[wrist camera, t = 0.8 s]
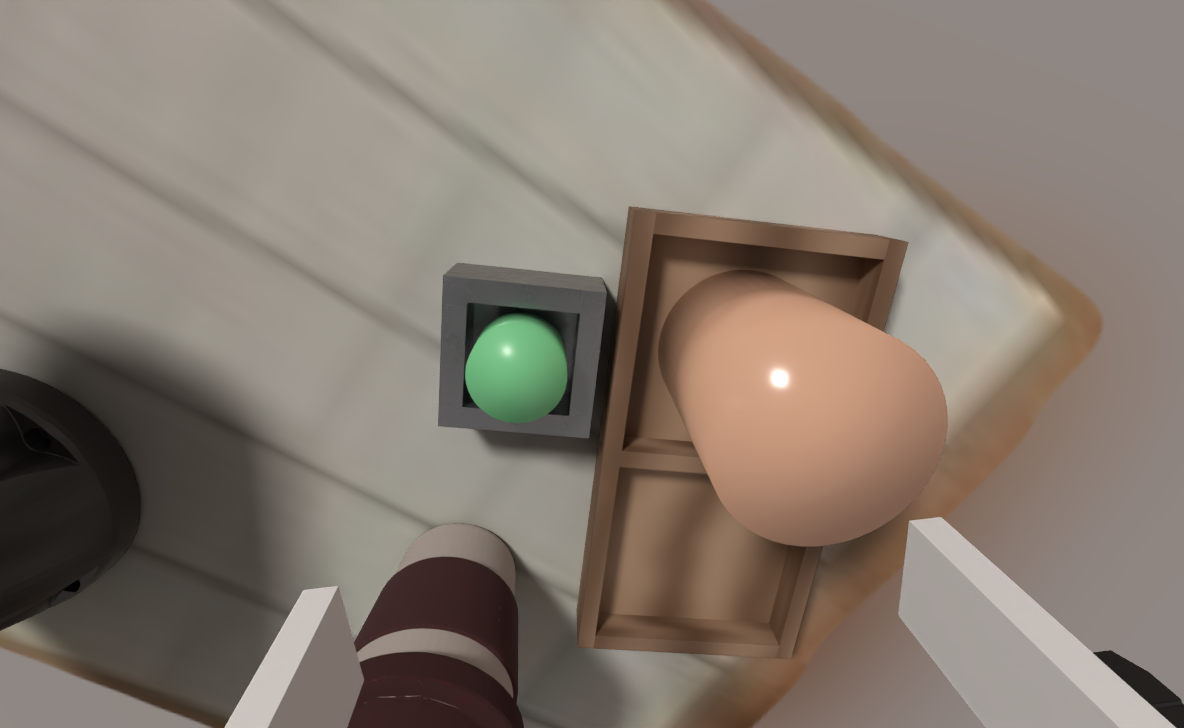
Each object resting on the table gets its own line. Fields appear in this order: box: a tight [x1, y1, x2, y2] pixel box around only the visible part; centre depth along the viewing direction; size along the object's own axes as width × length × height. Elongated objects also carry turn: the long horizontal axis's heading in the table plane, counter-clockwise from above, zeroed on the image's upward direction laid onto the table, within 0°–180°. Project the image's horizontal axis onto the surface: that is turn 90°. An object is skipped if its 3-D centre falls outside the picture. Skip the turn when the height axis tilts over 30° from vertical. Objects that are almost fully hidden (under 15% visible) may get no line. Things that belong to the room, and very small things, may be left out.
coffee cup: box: [347, 523, 524, 728], centre depth 31 cm, size 10×10×15 cm
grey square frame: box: [438, 263, 607, 438], centre depth 32 cm, size 8×8×4 cm
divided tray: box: [577, 207, 908, 659], centre depth 35 cm, size 14×27×3 cm, turn 174°
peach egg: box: [658, 270, 948, 547], centre depth 27 cm, size 9×9×12 cm
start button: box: [465, 312, 567, 423], centre depth 29 cm, size 5×5×3 cm
